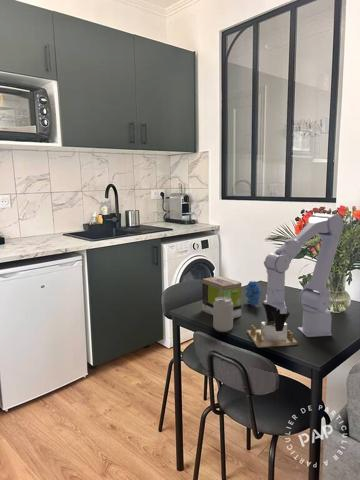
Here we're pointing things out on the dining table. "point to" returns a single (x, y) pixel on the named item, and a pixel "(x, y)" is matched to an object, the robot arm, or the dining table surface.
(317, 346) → the dining table surface
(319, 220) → the robot arm
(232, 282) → the tea box
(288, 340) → the tray
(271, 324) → the block
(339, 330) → the dining table surface
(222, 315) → the can
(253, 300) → the grapes
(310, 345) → the dining table surface
